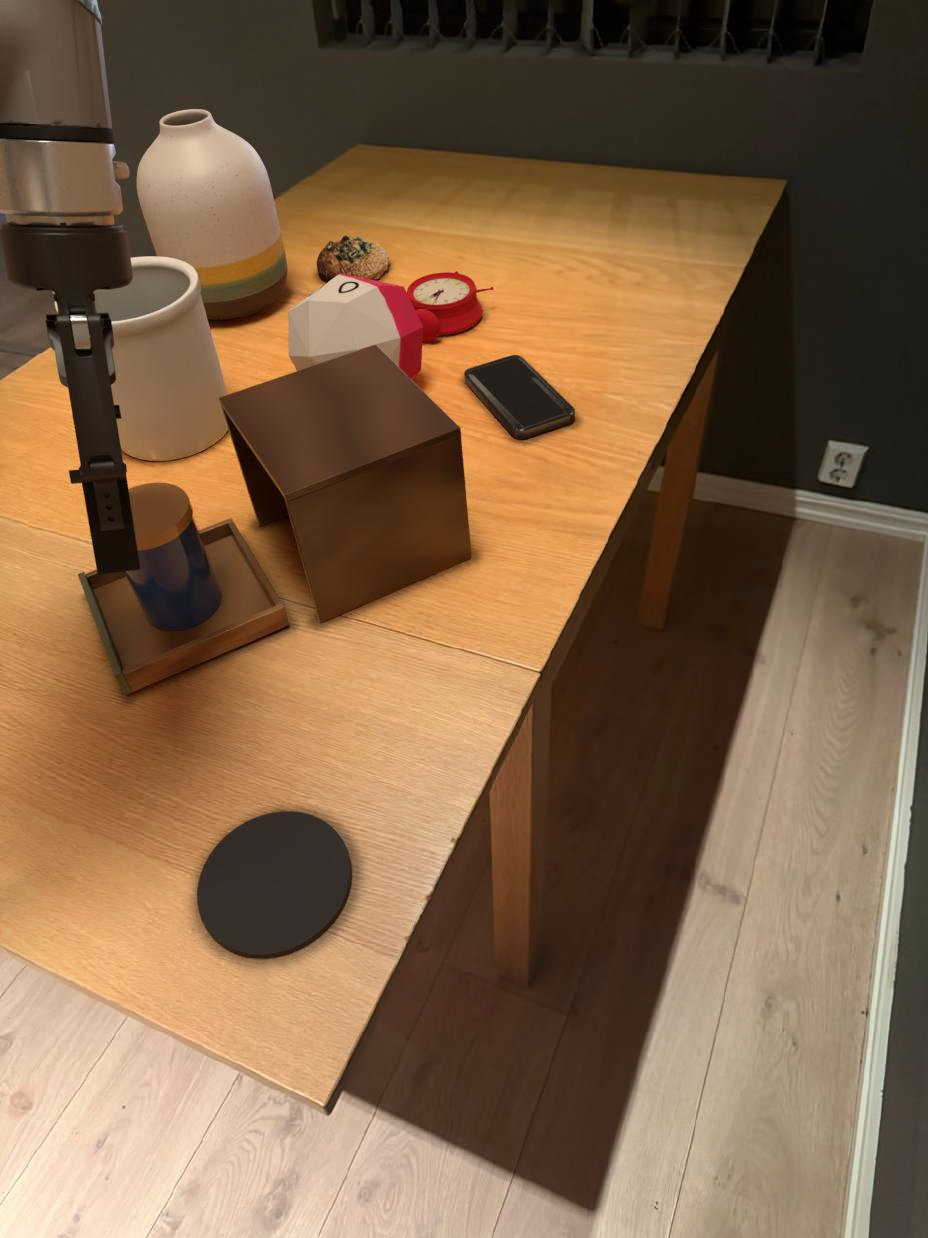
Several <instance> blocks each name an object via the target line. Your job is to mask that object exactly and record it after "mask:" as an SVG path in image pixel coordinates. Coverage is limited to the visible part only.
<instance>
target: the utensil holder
mask: <svg viewBox="0 0 928 1238" xmlns="http://www.w3.org/2000/svg"><path fill="white" fill-rule="evenodd" d="M131 265H132V272H133V279H132V282H131V283H130V284H129V285H127V286H125V287H122V288H117V289H110V290H106V289H98V290H95V291H94V292H93V293H94V294H95V307H96V311H97V313H109V318H111V323H112V328H113V335H114V346H113V348H112V353H113V359H114V365H115V372H116V381H115V383H113V384H112V385H111V389H112V395H113V401H114V405H119V407H120V412H121V419H116V420H117V426H118V433H119V439H120V445H121V451H122V452H124V453H125V454H127V456H130V457H131V458H135V459H139V460H141V461H142V460H143V461H150V462H164V461H165V462H167V461H174V460H179V459H183V458H184V459H185V458H187V457H190V456H193V455H196V454H199V453H201V452H203V451H205V450H207V449H208V448H210V447H212V446H213V445H215V444H217V442H219V441H220V440H221V439H222V438H223V437H224V436H225V435H226V434H227V432H229V430H228V427H227V424H226V421H225V417H224V414H223V411H222V408H221V404H220V402H219V398H220V397H223V396H226V395H228V392H227V386H226V383H225V379H224V375H223V371H222V367H221V363H220V360H219V356H218V352H217V348H216V345H215V342H214V338H213V335H212V331H211V328H210V323H209V319H207V316H206V312H205V308H204V305H203V301H202V298H201V294H200V291H201V286H200V281H199V277H198V274H197V272H196V270H195V269H194V268H193V267H192V266H191V265H189V264H188V263H186V262H183V261H181V260H178V259H174V258H169V257H160V256H157V255H156V256H152V255H151V256H149V255H147V256H135V257H131ZM54 308H55V311H56V314H58V308H57V303H56V301H55V300H54Z"/></svg>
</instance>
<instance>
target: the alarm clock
mask: <svg viewBox="0 0 928 1238" xmlns="http://www.w3.org/2000/svg"><path fill="white" fill-rule="evenodd" d="M486 291H494V286H491V287H488V288H479V289H477V286H476V283H475V281H474V280H473V279H472V278H471V277H469V276H468V275H465V274H462V273H459V271H454V272H450V271H449V272H448V271H447V272H445V271H443V272H436V273H430V274H427V275H424V276H421V277H419V278H417V279H415V280H413V281H412V282H411V283H410V284H409V285H408V287H407V289H406V292H407V294H408V296H409V298H410V301H411V303H412V305H413V307H414V309H415V311H416V313H417V315H418V318H419V320H420V322H421V324H422V326H423V339H422V342H433V341H435V340H437V338H438V337H439V336H443V335H451V334H456V333H460V332H463V331H466V330H467V329H470V328H472V327H473V326H474V325H476V324H477V323H478V322H479V321H480V320H481V319H482V317H483V306H482V304H481V303H480V300H479V299H478V296H477V294H478V293H481V292H482V293H483V292H486Z"/></svg>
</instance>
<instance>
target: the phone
mask: <svg viewBox="0 0 928 1238" xmlns="http://www.w3.org/2000/svg"><path fill="white" fill-rule="evenodd" d="M463 375H464V383H465V384H466V385H467V386H468V388H469V389H470V390H471V391H472V392H473V393H474V394H475V395H476V396H477V398H478V399H479V400H480V401H481V403H482V404H483V405H484V406H485V407H486V408H487V409H488V411H490V412H491V414H492V415H493V416H494V417H495V418H496V420H498V422H499V423H500V424H501V425H502V427H504V428H505V430H506V431H507V432H508V433H509V434H510V435H511V437H512V438H514V439H517V440H526V439H529V438H532V437H536V436H538V435H541V434H544V433H547V432H550V431H553V430H556V429H559V428H563V427H565V426H568V425H570V424H573V423H574V422H575V420H576V408H575V407H573V405H572V404H571V403H569V401H567V399H565V398H564V396H563V395H561V393H560V392H558V391H557V389H555V387H553V386H552V384H551V383H549V382H548V380H546V379H545V377H544V376H542V375H541V374H540V372H539V371H537V370H536V369H535V368H534V366H532V365H531V364H530V363H529V362H528V361H527V360H526V359H525V358H524V357H523V356H522V355H519V354H511V355H508V356H504V357H501V358H498V359H494V360H491V361H488V362H485V363H481V364H478V365H475V366H471V367H469V368H467V369H465V371H464V373H463Z"/></svg>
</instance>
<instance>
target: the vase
mask: <svg viewBox="0 0 928 1238" xmlns="http://www.w3.org/2000/svg"><path fill="white" fill-rule="evenodd" d="M158 123H159V134H158V135H157V137H156V138H155V139H154V141H153V142H152V143H151V144H150V145H149V147H147V149H146V151H145V152H144V154H143V156H142V157H141V159H140V161H139V164H138V167H137V170H136V193H137V198H138V202H139V206H140V209H141V212H142V215H143V218H144V222H145V226H146V228H147V231H148V234H149V237H150V240H151V243H152V246H153V249H154V252H155V255H156V256H160V257H169V258H174V259H178V260H181V261H183V262H186V263H188V264H189V265H191V266H192V267H193V268H194V269H195V270H196V272H197V274H198V277H199V281H200V286H201V291H200V294H201V298H202V301H203V305H204V308H205V312H206V316H207V320H219V321H220V320H233V319H239V318H243V317H246V316H251V315H254V314H256V313H258V312H261V311H263V310H264V309H266V308H268V307H269V306H271V305H272V304H273V303H274V302H276V301H277V300H278V299H279V298H280V297H281V295H282V293H283V292H284V290H285V287H286V284H287V278H288V261H287V255H286V249H285V245H284V240H283V235H282V230H281V225H280V221H279V217H278V212H277V207H276V203H275V198H274V195H273V190H272V186H271V181H270V178H269V174H268V171H267V168H266V166H265V164H264V162H263V160H262V158H261V157H260V155H259V154H258V152H257V151H256V149H255V148H254V147H253V146H252V145H251V144H250V143H249V142H248V141H247V140H245V139H244V138H243V137H241V136H239V135H238V134H236V133H234V132H233V131H231V130H228V129H226V128H225V127H223V126H220V124H217V123H216V122H215V120H214V117H213V116H212V114H211V112H210V111H209V110H206V109H201V108H200V109H199V108H198V109H197V108H192V109H182V110H177V111H174V112H171V113H167V114H166V115H164V116H163V117H161V118H160V119H159V122H158Z"/></svg>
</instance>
